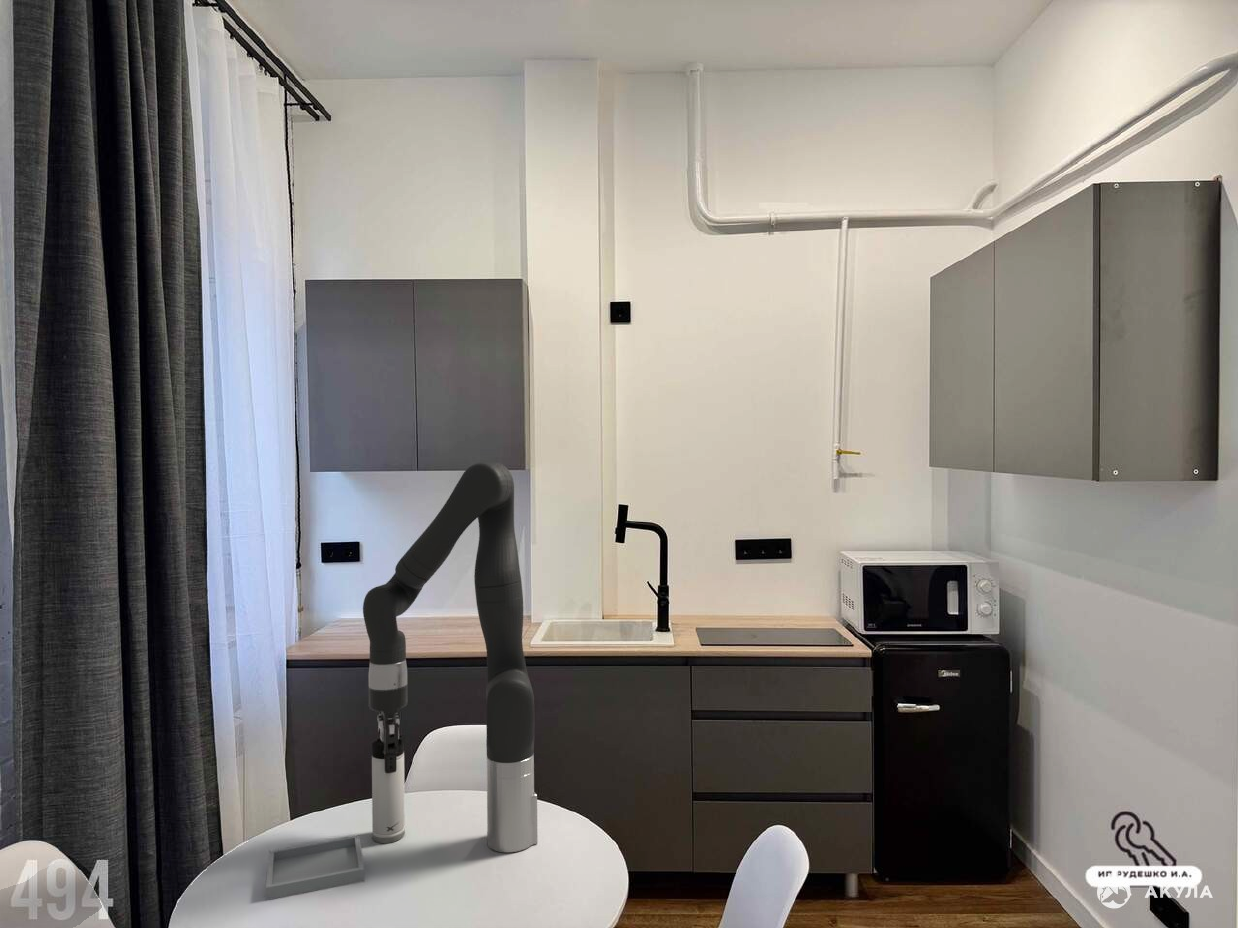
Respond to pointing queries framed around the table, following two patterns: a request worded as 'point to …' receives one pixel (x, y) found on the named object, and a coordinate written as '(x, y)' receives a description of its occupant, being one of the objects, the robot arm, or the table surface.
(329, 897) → the table surface
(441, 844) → the table surface
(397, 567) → the robot arm
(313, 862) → the tray
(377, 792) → the travel mug
